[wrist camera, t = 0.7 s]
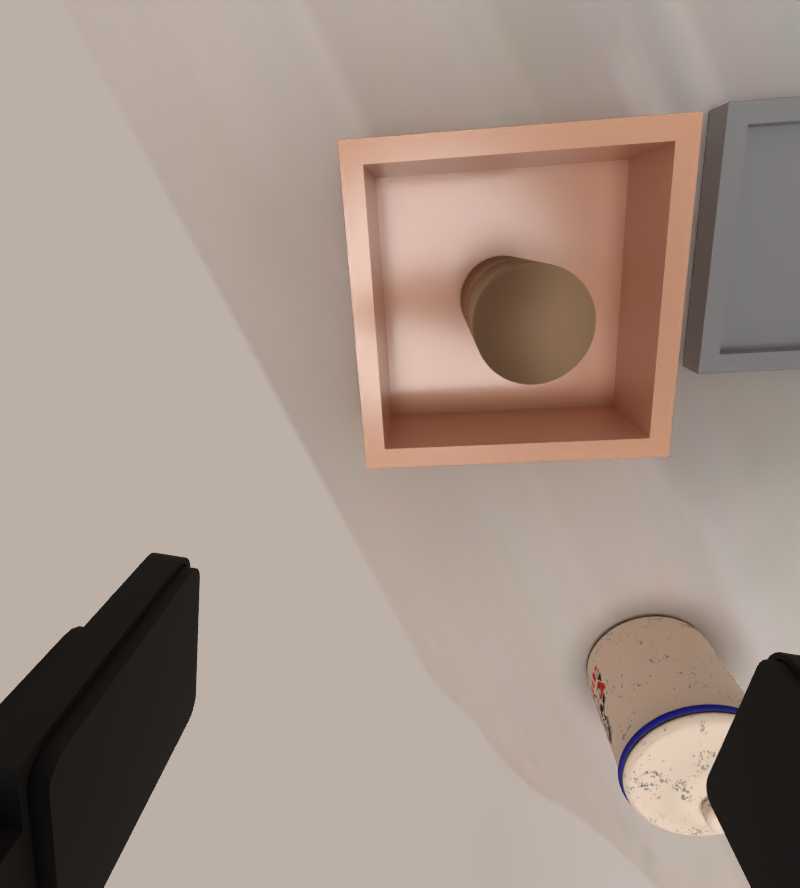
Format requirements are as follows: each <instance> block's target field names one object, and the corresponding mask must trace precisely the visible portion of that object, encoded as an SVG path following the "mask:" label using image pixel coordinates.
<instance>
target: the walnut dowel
mask: <svg viewBox="0 0 800 888" xmlns="http://www.w3.org/2000/svg"><path fill="white" fill-rule="evenodd" d="M460 304H461V309H462V313H463V316H464V318H465V320H466V323H467V325H468V327H469V330H470V332H471V334H472V336H473V339H474V341H475V343H476V346H477V348H478V350H479V353H480V354H481V356H482V358H483V360H484V361H485V363H486V364H487V365H488V366H489V367H490V368H491V369H492V370H493V371H494V372H495V373H496V374H498V375H499V376H501V377H503V378H504V379H507V380H509V381H511V382H515V383H518V384H525V385H536V384H543V383H547V382H551V381H553V380H556V379H558V378H560V377H562V376H564V375H565V374H567V373H568V372H570V371H571V370H572V369H573V368H574V367H575V366H577V364H578V363H579V362H580V361H581V360H582V359H583V357H584V356H585V354H586V353H587V351H588V349H589V347H590V345H591V343H592V340H593V337H594V333H595V327H596V312H595V306H594V303H593V299H592V297H591V295H590V293H589V291H588V289H587V288H586V286H585V285H584V284H583V283H582V281H581V280H580V279H579V278H578V277H576V276H575V275H574V274H573V273H571V272H569V271H568V270H566V269H564V268H562V267H559V266H556V265H552V264H548V263H543V262H538V261H533V260H527V259H522V258H517V257H512V256H494V257H491V258H488V259H486V260H484V261H482V262H480V263H479V264H478V265H476V266H475V267H474V268H473V269H472V270H471V271H470V273H469V274H468V275H467V277H466V279H465V281H464V283H463V286H462V289H461V295H460Z"/></svg>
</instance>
